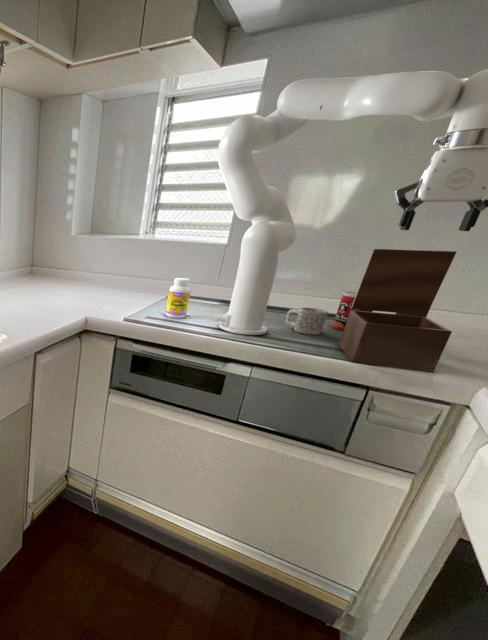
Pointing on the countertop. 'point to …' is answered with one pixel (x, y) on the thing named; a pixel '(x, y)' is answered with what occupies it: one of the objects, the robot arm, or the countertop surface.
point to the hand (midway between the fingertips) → (433, 230)
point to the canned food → (345, 310)
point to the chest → (394, 340)
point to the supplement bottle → (178, 298)
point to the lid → (402, 280)
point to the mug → (308, 320)
